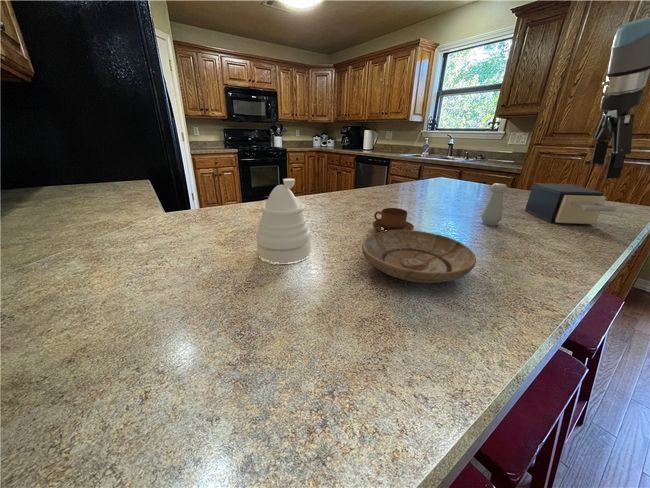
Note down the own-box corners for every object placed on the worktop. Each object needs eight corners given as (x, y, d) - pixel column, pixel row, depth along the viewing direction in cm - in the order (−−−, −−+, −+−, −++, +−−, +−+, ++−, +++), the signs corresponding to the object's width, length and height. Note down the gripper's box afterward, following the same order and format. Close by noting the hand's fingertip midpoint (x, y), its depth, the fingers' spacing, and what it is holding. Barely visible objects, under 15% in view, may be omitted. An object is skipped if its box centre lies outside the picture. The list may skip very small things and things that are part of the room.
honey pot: (317, 246, 70) (317, 176, 63) (300, 268, 59) (297, 186, 52) (272, 240, 73) (267, 173, 66) (247, 260, 62) (238, 182, 55)
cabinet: (590, 224, 88) (604, 192, 84) (549, 222, 89) (561, 191, 85) (559, 212, 102) (570, 184, 97) (524, 210, 103) (533, 183, 99)
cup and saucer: (370, 236, 77) (372, 215, 74) (373, 223, 88) (375, 204, 85) (414, 240, 74) (417, 219, 72) (411, 226, 85) (414, 207, 83)
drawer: (612, 230, 80) (625, 202, 77) (571, 229, 81) (582, 200, 78) (565, 212, 98) (574, 188, 95) (532, 210, 99) (539, 187, 96)
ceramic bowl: (498, 282, 54) (504, 260, 52) (401, 308, 46) (405, 283, 44) (420, 241, 74) (423, 223, 72) (343, 253, 66) (344, 234, 64)
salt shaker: (503, 226, 85) (515, 186, 80) (485, 226, 85) (496, 185, 80) (493, 221, 91) (503, 182, 86) (476, 220, 91) (485, 182, 86)
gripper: (590, 90, 82) (577, 159, 91) (620, 101, 63) (600, 186, 73) (625, 83, 78) (608, 156, 88) (667, 92, 60) (640, 183, 69)
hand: (604, 170), depth 80 cm, fingers open, 13 cm apart
